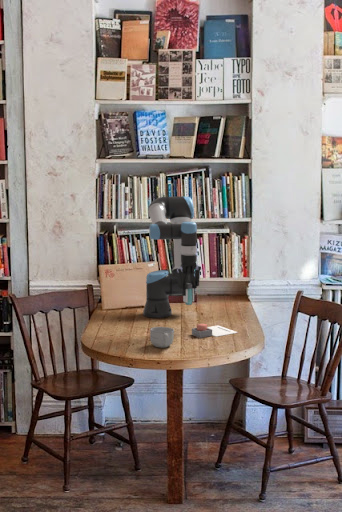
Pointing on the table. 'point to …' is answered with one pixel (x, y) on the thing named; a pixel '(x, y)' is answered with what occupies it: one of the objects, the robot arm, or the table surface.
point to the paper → (220, 331)
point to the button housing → (201, 333)
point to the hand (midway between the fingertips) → (188, 301)
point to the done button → (201, 327)
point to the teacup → (161, 336)
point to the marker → (189, 294)
